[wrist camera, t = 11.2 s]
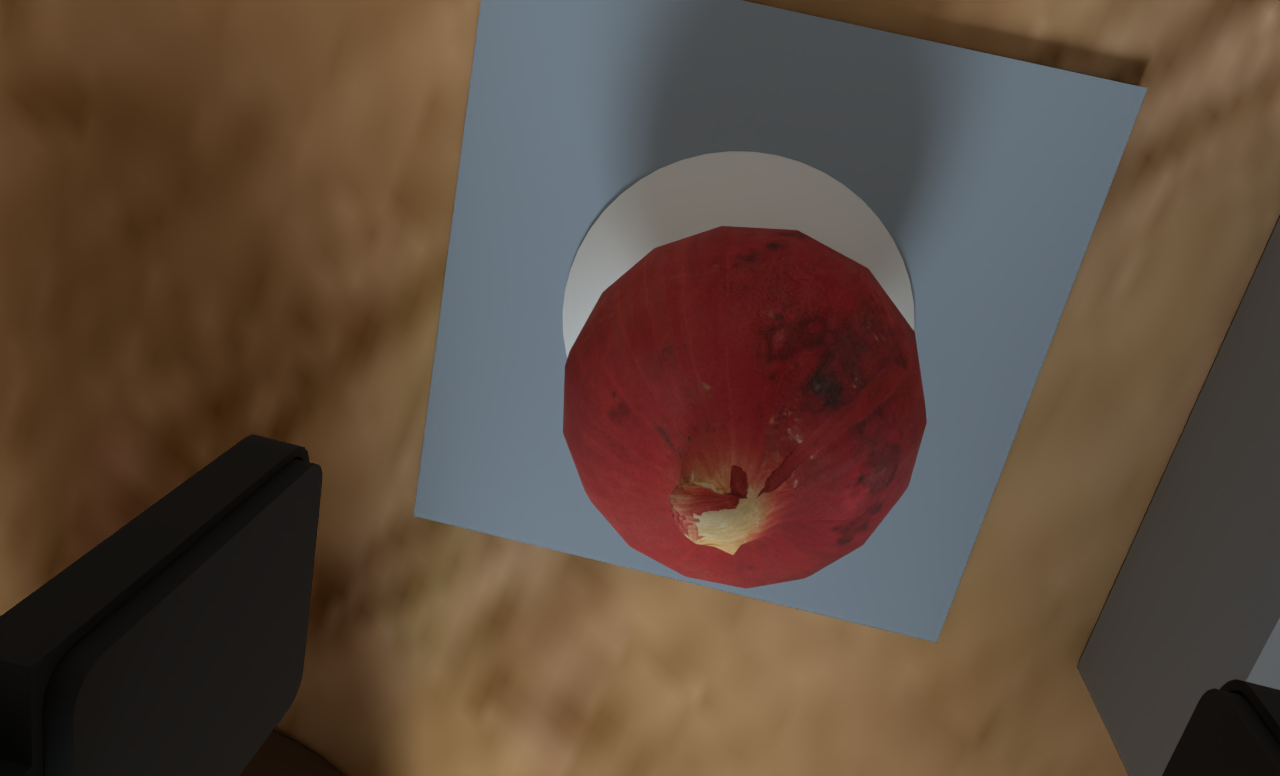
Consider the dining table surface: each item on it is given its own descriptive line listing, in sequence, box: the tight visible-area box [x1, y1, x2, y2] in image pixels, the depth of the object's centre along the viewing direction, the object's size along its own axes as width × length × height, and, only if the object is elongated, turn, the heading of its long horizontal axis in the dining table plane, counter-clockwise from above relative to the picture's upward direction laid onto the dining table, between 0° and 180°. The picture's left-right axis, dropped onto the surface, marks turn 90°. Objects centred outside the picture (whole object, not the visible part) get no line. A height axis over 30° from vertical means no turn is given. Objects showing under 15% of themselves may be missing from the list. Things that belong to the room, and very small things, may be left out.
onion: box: [563, 226, 927, 589], centre depth 16 cm, size 6×6×8 cm
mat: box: [414, 0, 1148, 643], centre depth 20 cm, size 12×12×1 cm
